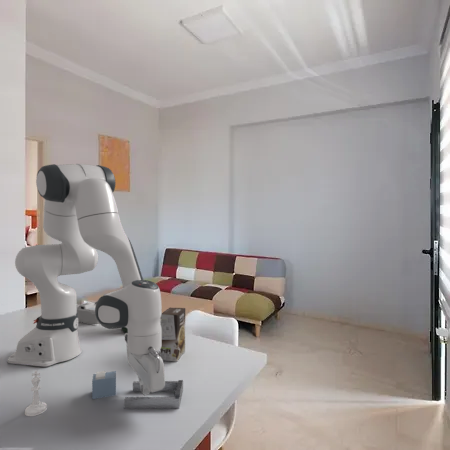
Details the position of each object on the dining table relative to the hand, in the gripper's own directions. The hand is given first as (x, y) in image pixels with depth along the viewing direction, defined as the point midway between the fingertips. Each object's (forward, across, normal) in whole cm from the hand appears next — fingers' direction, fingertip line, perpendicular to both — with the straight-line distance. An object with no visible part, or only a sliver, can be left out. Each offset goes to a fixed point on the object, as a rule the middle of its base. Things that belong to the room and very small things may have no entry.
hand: (144, 392), depth 86 cm
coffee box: (+2, +21, -18) cm, 28 cm away
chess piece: (+2, +10, +25) cm, 27 cm away
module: (+2, +9, +8) cm, 12 cm away
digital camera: (+2, +78, 0) cm, 78 cm away
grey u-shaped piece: (+2, -1, -2) cm, 3 cm away
